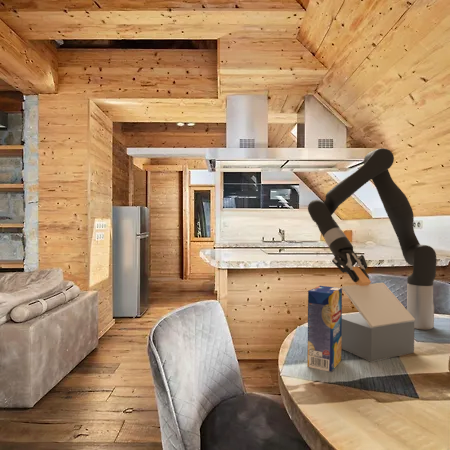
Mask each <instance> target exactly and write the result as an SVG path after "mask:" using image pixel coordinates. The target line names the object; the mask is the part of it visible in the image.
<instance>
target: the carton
mask: <svg viewBox="0 0 450 450" xmlns="http://www.w3.org/2000/svg"><path fill="white" fill-rule="evenodd" d="M341 350H344V351H347V353H350V354H352V353H353V354H352V355H356V356H357V357H359V358H361V359H364V360H366V361H368V362H371V363H372V362H377V361H382V360H385V359H391V358H395V357H399V356H400V357H401V356H404V355H409V354H413V353H415V328H414V321H410V322H404V323H398V324H392V325H386V326H380V327H374V328H371V327H370V326H369V325H368V323H367V322H366V321H365V319H364V318H363V317H362V315H361V314H360V312H353V313H349V314H342V341H341Z"/></svg>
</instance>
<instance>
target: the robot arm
mask: <svg viewBox="0 0 450 450" xmlns="http://www.w3.org/2000/svg"><path fill="white" fill-rule="evenodd" d="M394 159H395V157H394V153H393V152H392V151H391V150H390V149H389V148H383V147H381V148H380V147H379V148H377V149H374V150H372V151H370V152H368V153H366V155H365V156H364V159H363V164H362V166H360V167H359V168H358V169H357V170H356V171H353V173H351V174H350V175H348V176H346V177H345V178H344V179H343V180H341V181H340V182H338V183H337V184H335V186H333V187H332V188H331V189H329V191H327V193H326V194H325V200H324V201H322V200H321V199H314V200H311V201H310V202H309V203H308V206H307V212H308V214H309V215H310V218H311V220H312V221H313V222H314V223H315V224H316V225H317V228H318V230H319V232H320V234H321V235H322V237H323V239H324V242H325V244H326V245H327V247H328V248H329V250H330V251H331V253H332V255H333V256H334V257H333V258H332V259H331V262H332V263H333V264H334V265H335V267H337V268H338V270H340V271H341V273H343V274H345V273H346V274H347V275H348V276H349V277H350V279H351V280H352V281H353V283H355V282H357V281H358V280H359V277H358V276H357V274H356V273H355V271H354V270H353V268H352V267H356V266H358V267H359V268H360V269H361V270H362V272H363V273H364V274H365V275H366V276H367V278H368V279H369V280H370V277H369V275H368V273H367V272H366V269H368V264H367V261H366V258H365V256H364V255H363V254H361V255H359V254H358V255H357V253H356V252H355V251H354V246H353V244H352V243H351V242H350V239H349V238H348V236H347V235H346V234H345V232H344V231H343V230H342V229H341V228H340V226H339V225H338V222H336V220H335V219H334V217H333V214H335V211H337V210H338V207H339V206H340V205H342V204H343V203H344V202H346V201H347V200H348V199H349V198H350V197H351V196H353V195H354V194H355V193H356V192H357V191H358V190H359V189H361V188H362V187H363V186H364V185H366V184H367V183H369V181H372V183H373V184H374V187H375V189H376V191H377V194H378V195H379V198H380V201H381V203H382V206H383V208H384V210H385V213H386V214H387V217H388V220H389V221H390V223H391V225H392V228H393V230H394V233H395V236H396V238H397V240H398V244H399V246H400V249H401V252H402V256H403V258H404V261H405V263H407V265H409V266H412V267H413V268H412V269H413V270H412V273H411V274H410V275H408V276H407V279H406V280H407V281H406V283H407V284H406V285H407V286H406V293H407V294H406V297H407V298H406V309H407V311H408V312H409V313H410V314H411V315H412V316H413V318H414V319H415V320H414V329H416V330H424V331H425V330H432V329H434V327H435V304H434V280H435V279H436V273H437V261H438V260H437V254H436V251H435V249H434V248H433V247H432V246H431V245H425V244H421V243H420V241H419V240H418V238H417V236H416V233H415V230H414V229H415V228H414V222H415V221H414V212H413V208H412V206H411V203H410V201H409V199H408V197H407V196H406V194H405V193H404V191H402V190H401V188H400V187H399V186H398V184H396V182H395V181H394V180H393V178H392V176H391V174H390V171H389V170H390V168H392V166H393V165H394V161H395V160H394Z"/></svg>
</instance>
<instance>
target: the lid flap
mask: <svg viewBox="0 0 450 450" xmlns="http://www.w3.org/2000/svg"><path fill="white" fill-rule="evenodd" d="M352 268H353V270H354V271H355V273H356V274H357V276H358V277H359V280H358V281H357V282H354V283H355V284H354V285H343V286H342V287H341V288H342V292H344V293H345V295H346V296H347V297H348V300H350V301H351V303H352V304H353V306H354V307H355V309H356V310H357V311H358V313H360V314H361V315H362V317H363V318H364V319H365V321H366V322H367V323H368V325H369V326H370V327H371V328H374V327H380V326H386V325H392V324H398V323H404V322H410V321H414V320H415V319H414V318H413V316H412V315H411V314H410V313H409V312H408V311H407V307H405V306H404V304H402V302H401V301H400V300H399V299H398V298H397V296H396V295H395V294H394V293H393V292H392V291H391V290H390V288H388V286H387V285H386V284H385V282H377V283H372V281H371V280H370V278H369V279H368V278H367V276H366V275H365V274H364V273H363V272H362V270H361V269H360V267H359V266H356V267H352Z"/></svg>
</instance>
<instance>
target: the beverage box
mask: <svg viewBox="0 0 450 450" xmlns="http://www.w3.org/2000/svg"><path fill="white" fill-rule="evenodd" d="M342 298H343V289H342V287H337V286H335V287H334V286H326V285H319V286H316V287H315V288H312V289H310V290H308V291H307V364H306V365H307V368H312V369H315V370H321V371H324V372H329V373H332V372H333V370H335V368H336V367H337V365H339V363H340V362H341V361H342V349H341V341H342V315H343V299H342Z"/></svg>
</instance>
